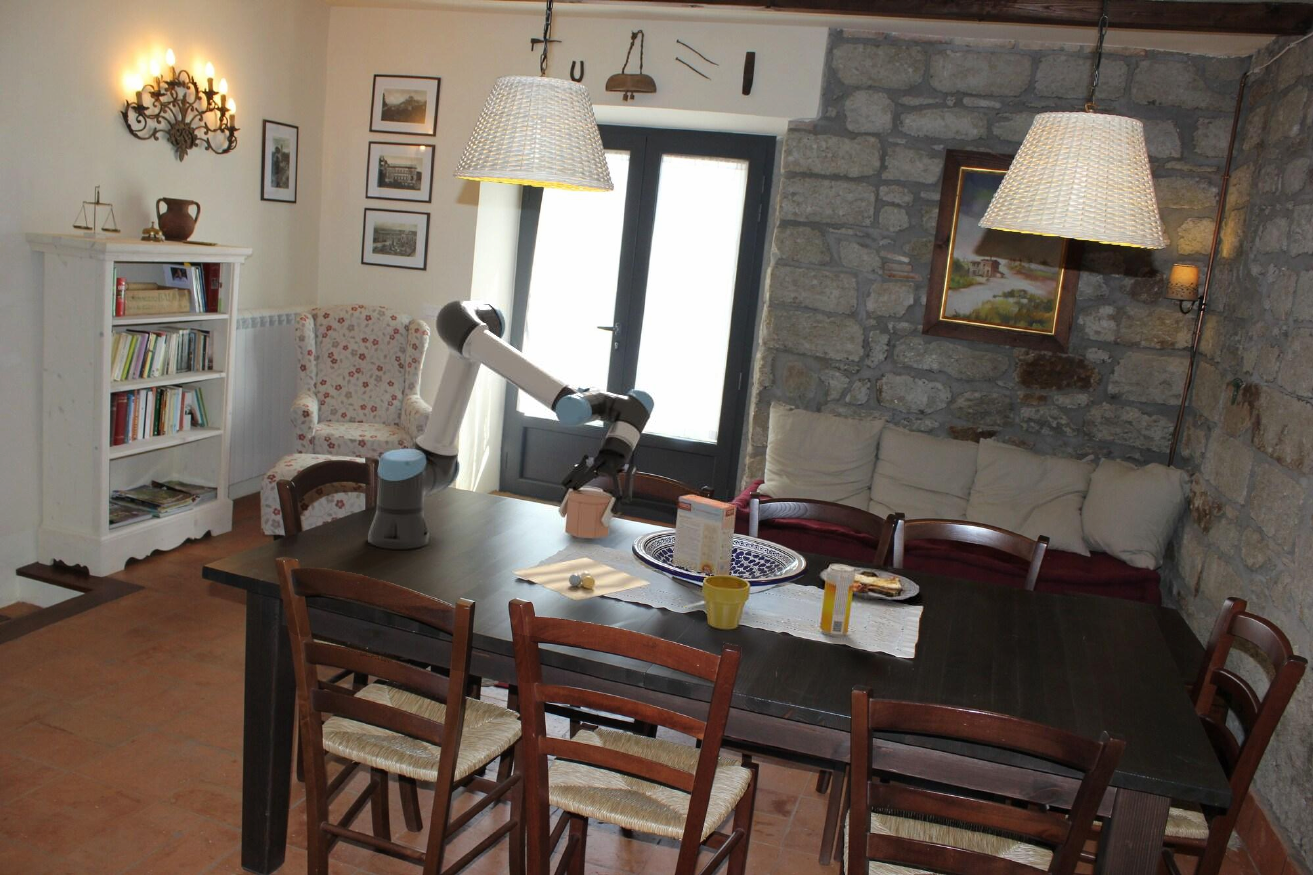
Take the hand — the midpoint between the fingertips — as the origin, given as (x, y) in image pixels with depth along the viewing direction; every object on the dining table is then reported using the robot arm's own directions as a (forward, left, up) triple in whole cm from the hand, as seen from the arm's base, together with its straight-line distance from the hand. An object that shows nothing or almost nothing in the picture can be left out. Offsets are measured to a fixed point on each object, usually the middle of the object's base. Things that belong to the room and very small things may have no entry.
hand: (582, 518), depth 231 cm
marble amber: (+3, +1, -16) cm, 16 cm away
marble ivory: (0, +3, -16) cm, 16 cm away
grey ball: (0, -1, -16) cm, 16 cm away
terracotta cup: (-1, +3, -4) cm, 5 cm away
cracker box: (+12, +30, -17) cm, 36 cm away
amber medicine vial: (+52, +30, -17) cm, 62 cm away
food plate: (+38, +66, -17) cm, 78 cm away
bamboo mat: (-4, +5, -17) cm, 18 cm away
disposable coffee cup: (-38, +36, -17) cm, 55 cm away
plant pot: (+35, +12, -17) cm, 41 cm away
